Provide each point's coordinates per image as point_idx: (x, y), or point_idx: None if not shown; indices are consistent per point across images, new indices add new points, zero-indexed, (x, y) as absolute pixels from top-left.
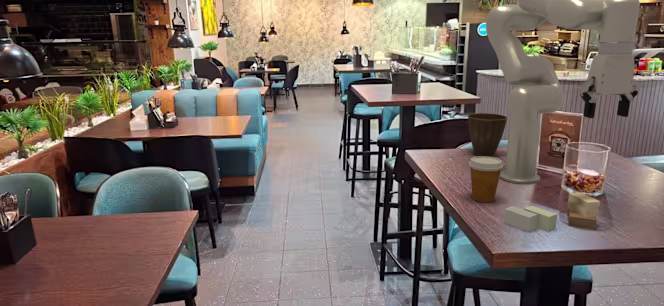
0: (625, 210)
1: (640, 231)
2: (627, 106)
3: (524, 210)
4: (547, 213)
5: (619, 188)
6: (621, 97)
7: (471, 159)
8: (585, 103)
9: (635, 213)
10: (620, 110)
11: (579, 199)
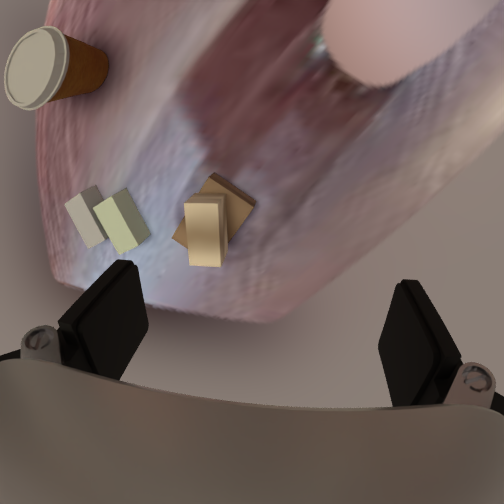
0: (359, 187)
1: (293, 279)
2: (395, 399)
3: (90, 217)
4: (122, 239)
5: (458, 71)
6: (442, 401)
7: (6, 66)
8: (59, 336)
9: (365, 207)
10: (400, 328)
11: (188, 238)
